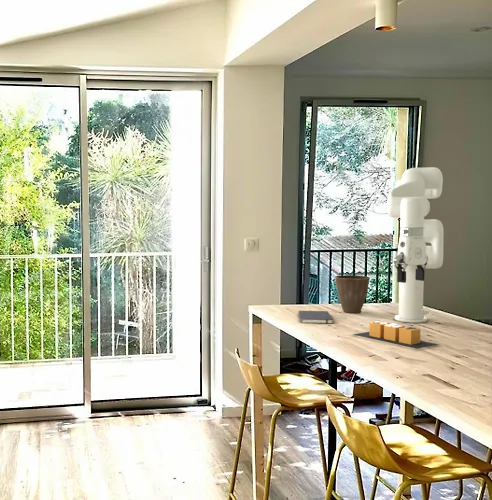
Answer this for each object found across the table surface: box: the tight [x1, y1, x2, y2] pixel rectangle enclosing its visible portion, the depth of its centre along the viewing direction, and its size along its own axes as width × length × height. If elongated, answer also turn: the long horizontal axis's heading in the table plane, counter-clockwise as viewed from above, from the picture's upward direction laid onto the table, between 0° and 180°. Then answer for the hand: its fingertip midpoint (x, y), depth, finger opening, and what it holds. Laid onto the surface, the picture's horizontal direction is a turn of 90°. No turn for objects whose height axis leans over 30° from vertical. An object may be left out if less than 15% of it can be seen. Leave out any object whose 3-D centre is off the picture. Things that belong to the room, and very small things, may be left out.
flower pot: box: [334, 274, 370, 314], centre depth 294 cm, size 15×15×16 cm
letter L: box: [368, 320, 391, 338], centre depth 240 cm, size 5×5×5 cm
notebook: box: [298, 310, 334, 324], centre depth 279 cm, size 13×2×21 cm
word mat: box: [352, 331, 440, 350], centre depth 234 cm, size 12×28×1 cm, turn 30°
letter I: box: [384, 323, 406, 341], centre depth 234 cm, size 5×5×5 cm
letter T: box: [399, 326, 421, 345], centre depth 228 cm, size 5×5×5 cm
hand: (410, 281), depth 227 cm, fingers open, 9 cm apart
